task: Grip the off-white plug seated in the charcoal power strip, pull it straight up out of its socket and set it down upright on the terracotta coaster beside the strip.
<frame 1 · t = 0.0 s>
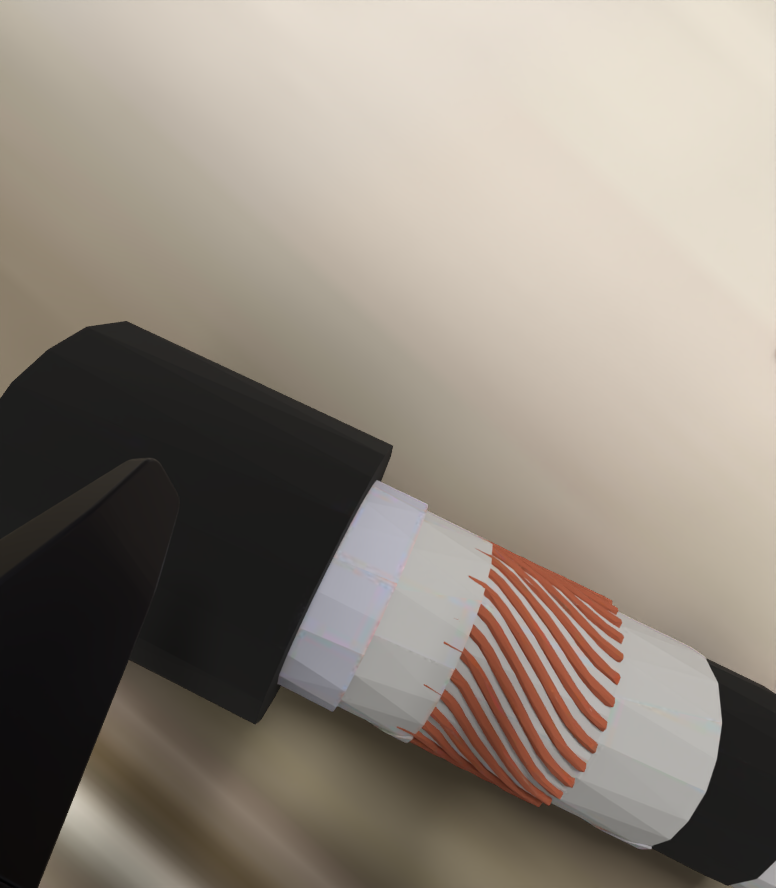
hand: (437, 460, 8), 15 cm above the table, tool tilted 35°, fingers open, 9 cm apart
cable: (508, 613, 24), on the table
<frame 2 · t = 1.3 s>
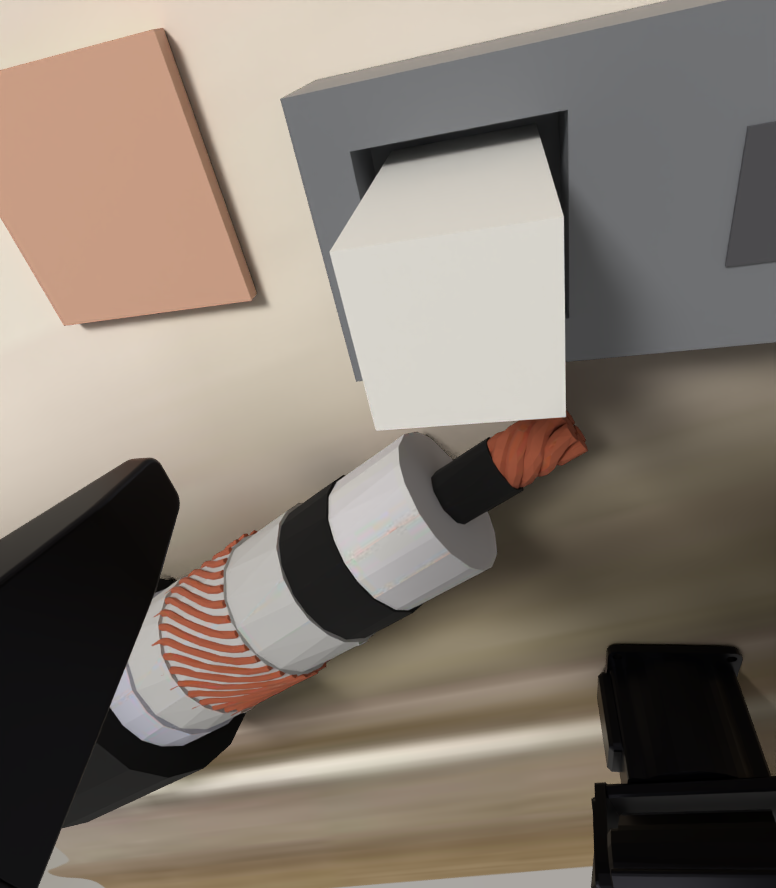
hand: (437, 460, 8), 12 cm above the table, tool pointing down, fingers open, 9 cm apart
cable: (280, 547, 31), on the table
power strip: (680, 167, 16), on the table
coaster: (110, 198, 19), on the table
plug: (469, 211, 17), point 1 cm above the table, touching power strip
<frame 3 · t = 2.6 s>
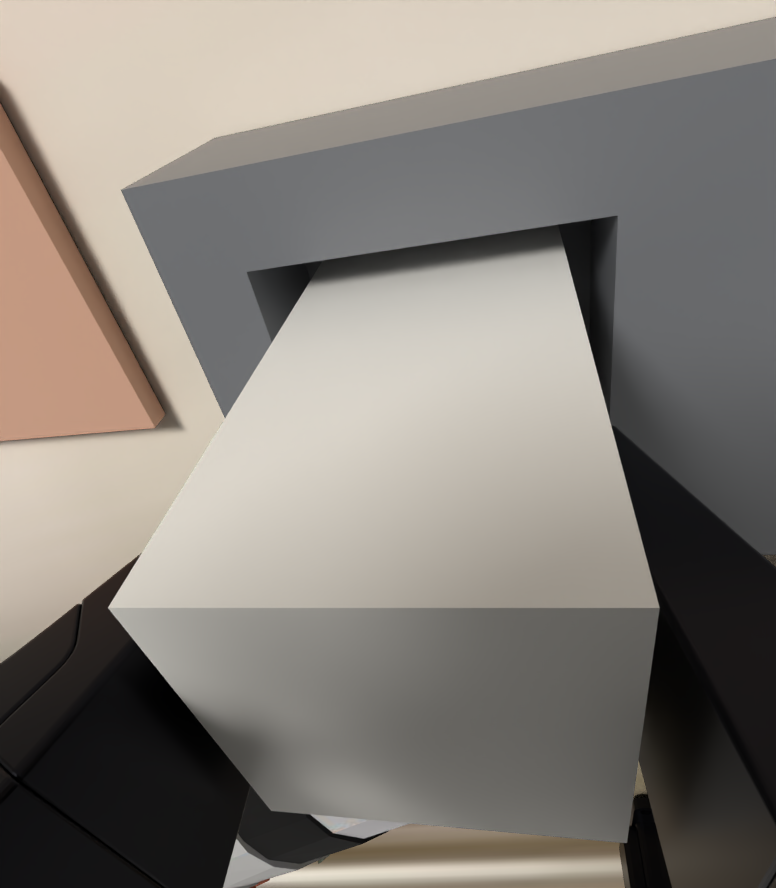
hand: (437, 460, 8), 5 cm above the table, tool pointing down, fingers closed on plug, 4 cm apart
cable: (233, 681, 25), on the table
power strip: (773, 268, 11), on the table
plug: (452, 330, 11), point 1 cm above the table, touching gripper, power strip
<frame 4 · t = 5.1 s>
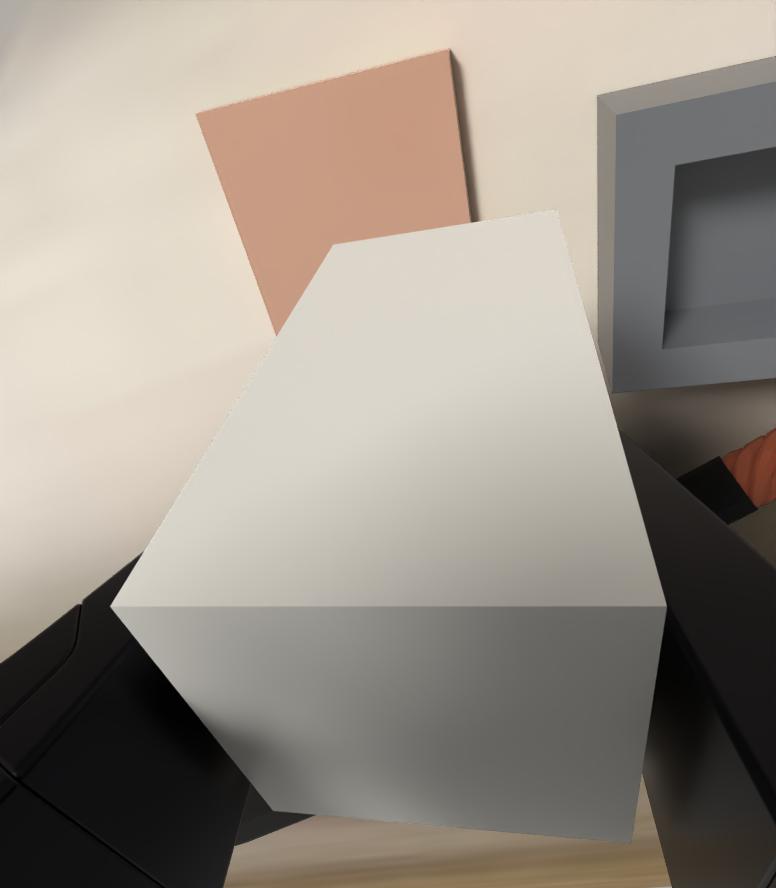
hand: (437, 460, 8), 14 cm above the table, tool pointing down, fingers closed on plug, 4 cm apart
cable: (445, 565, 31), on the table
coaster: (352, 215, 20), on the table
plug: (454, 329, 11), point 9 cm above the table, touching gripper
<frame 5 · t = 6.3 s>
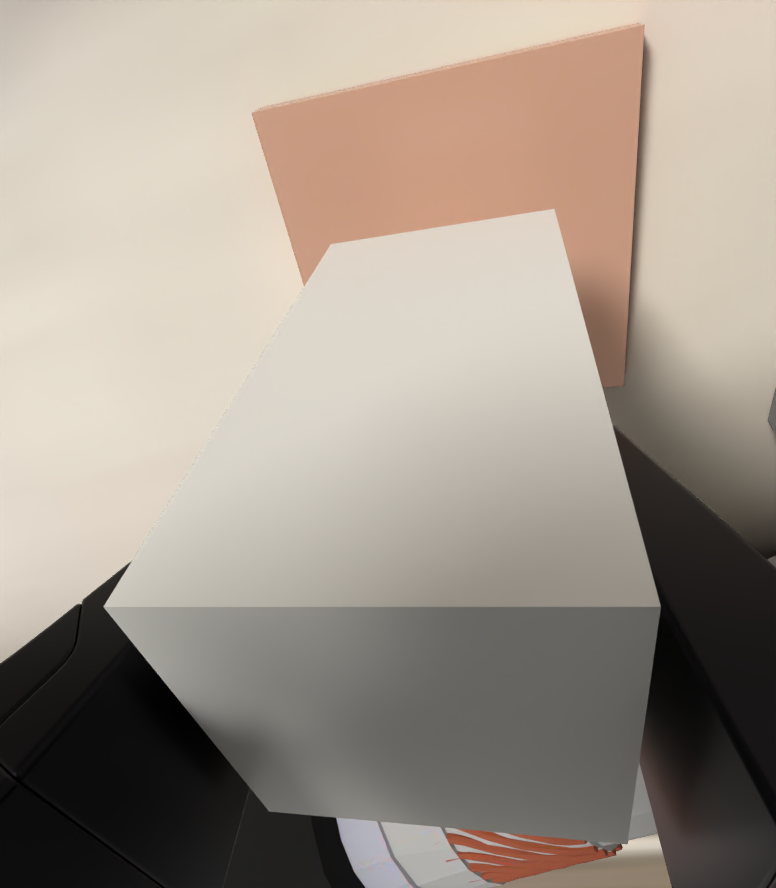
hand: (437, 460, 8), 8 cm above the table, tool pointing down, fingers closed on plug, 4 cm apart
cable: (517, 655, 26), on the table
coaster: (458, 254, 14), on the table
plug: (452, 328, 11), point 4 cm above the table, touching gripper
when the fingers open (6 cm above the table, at t = 7.4 s): plug drops 2 cm, resting on coaster.
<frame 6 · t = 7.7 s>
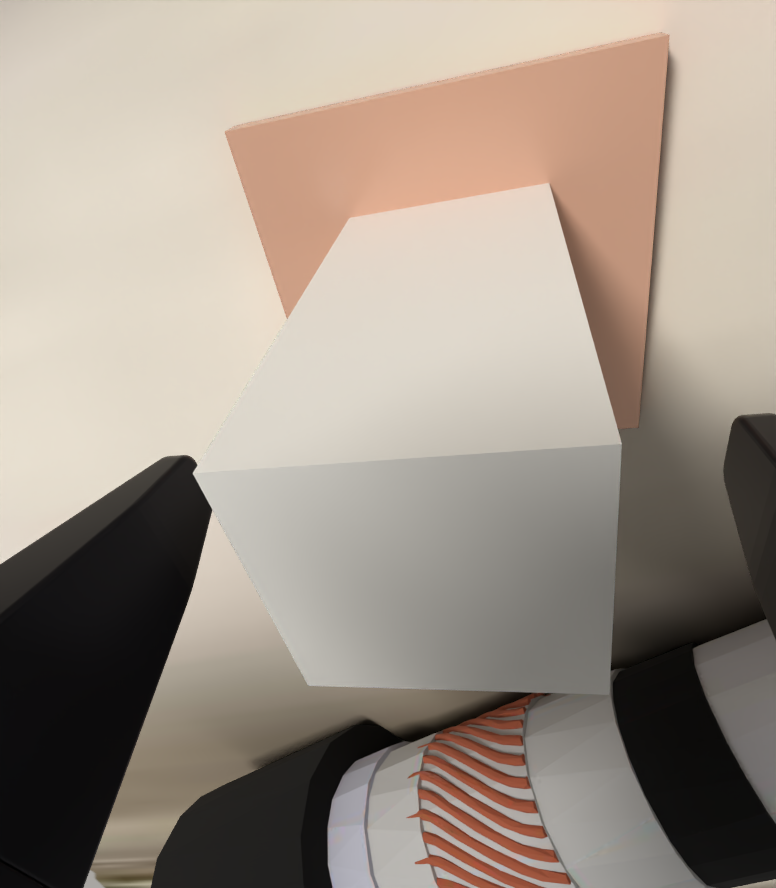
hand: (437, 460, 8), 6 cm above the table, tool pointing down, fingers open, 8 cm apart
cable: (522, 695, 24), on the table
coaster: (456, 285, 13), on the table
plug: (458, 294, 13), point 1 cm above the table, touching coaster
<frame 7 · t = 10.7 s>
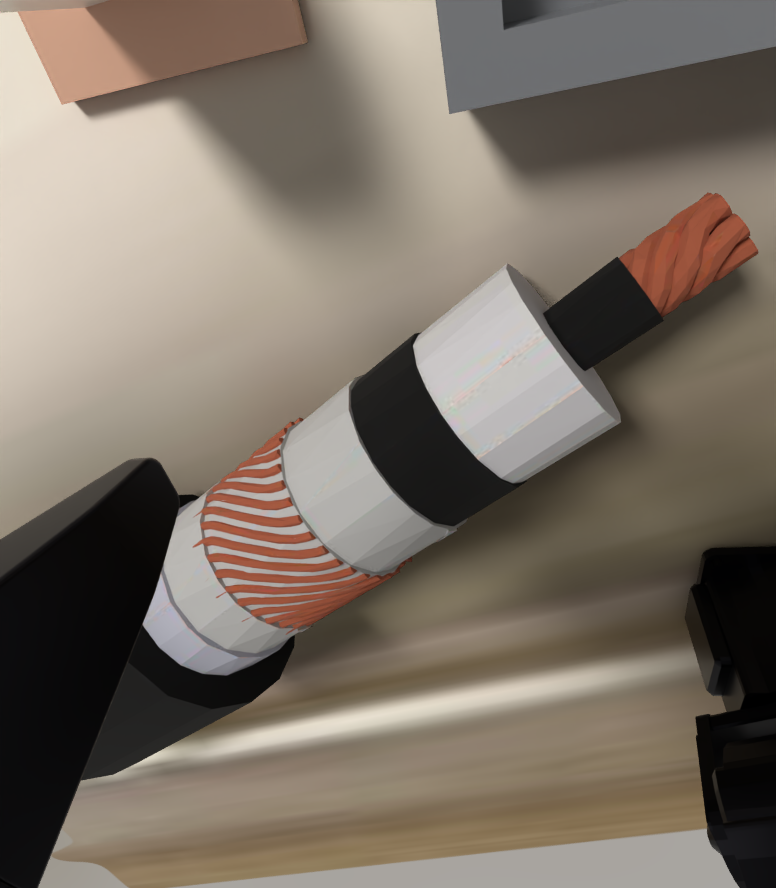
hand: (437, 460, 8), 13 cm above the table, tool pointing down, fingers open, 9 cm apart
cable: (333, 451, 26), on the table
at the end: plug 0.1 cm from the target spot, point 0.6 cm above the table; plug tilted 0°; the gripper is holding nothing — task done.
